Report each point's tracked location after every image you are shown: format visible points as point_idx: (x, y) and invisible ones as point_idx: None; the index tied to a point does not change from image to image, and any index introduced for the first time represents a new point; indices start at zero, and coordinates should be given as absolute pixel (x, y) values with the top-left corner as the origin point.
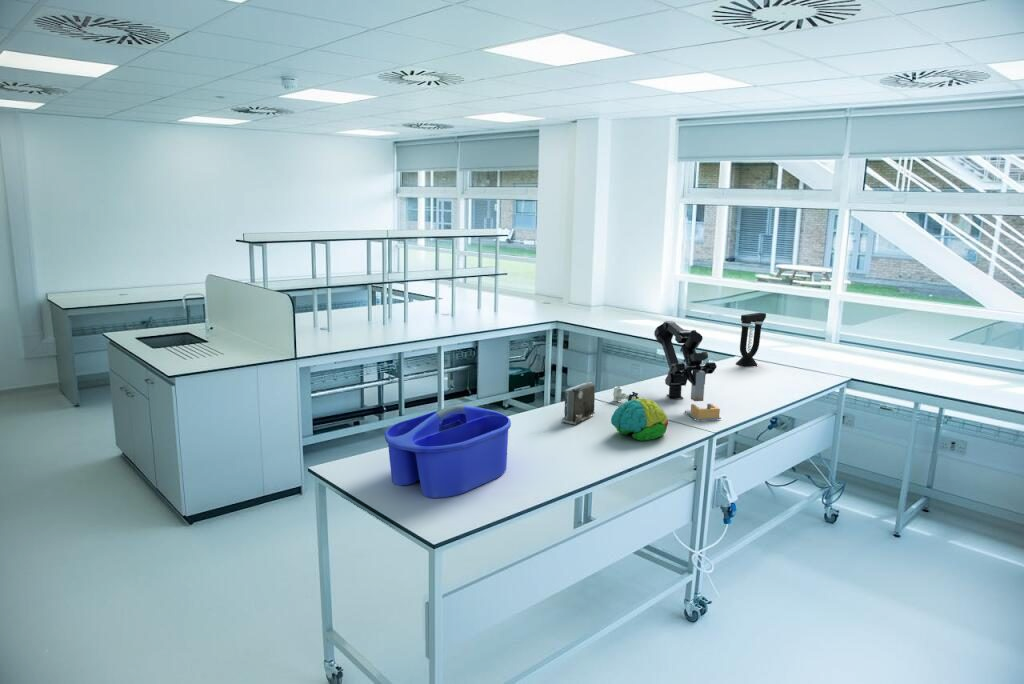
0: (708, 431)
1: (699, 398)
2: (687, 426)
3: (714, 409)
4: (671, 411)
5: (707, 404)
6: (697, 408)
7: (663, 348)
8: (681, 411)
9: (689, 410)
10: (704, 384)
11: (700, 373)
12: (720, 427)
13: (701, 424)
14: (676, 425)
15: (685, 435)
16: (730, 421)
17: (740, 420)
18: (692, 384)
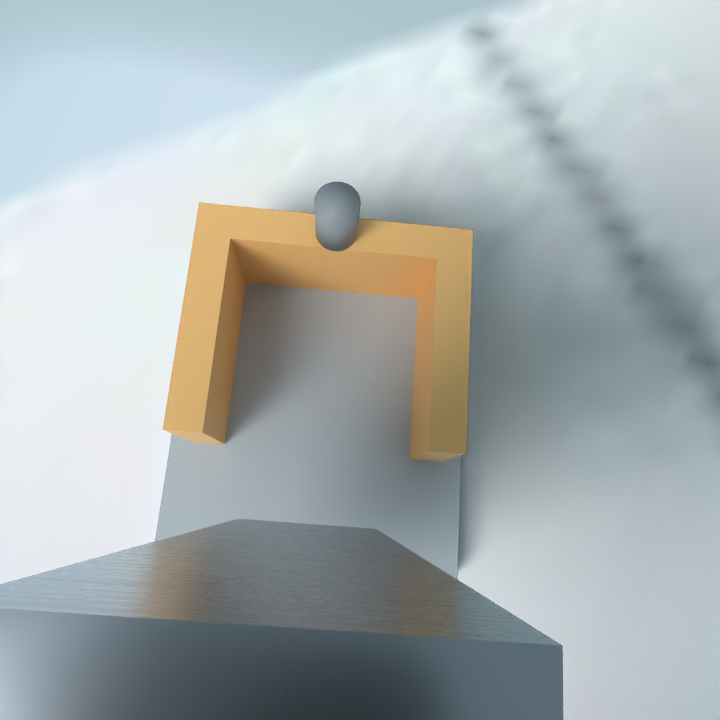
0: (490, 32)
1: (300, 524)
2: (608, 173)
3: (270, 214)
4: (579, 657)
5: (359, 208)
6: (470, 268)
7: None
8: None
9: None
10: None
11: (285, 603)
12: (338, 86)
13: (461, 190)
14: (693, 217)
15: (706, 4)
16: (141, 201)
17: (22, 204)
18: None
